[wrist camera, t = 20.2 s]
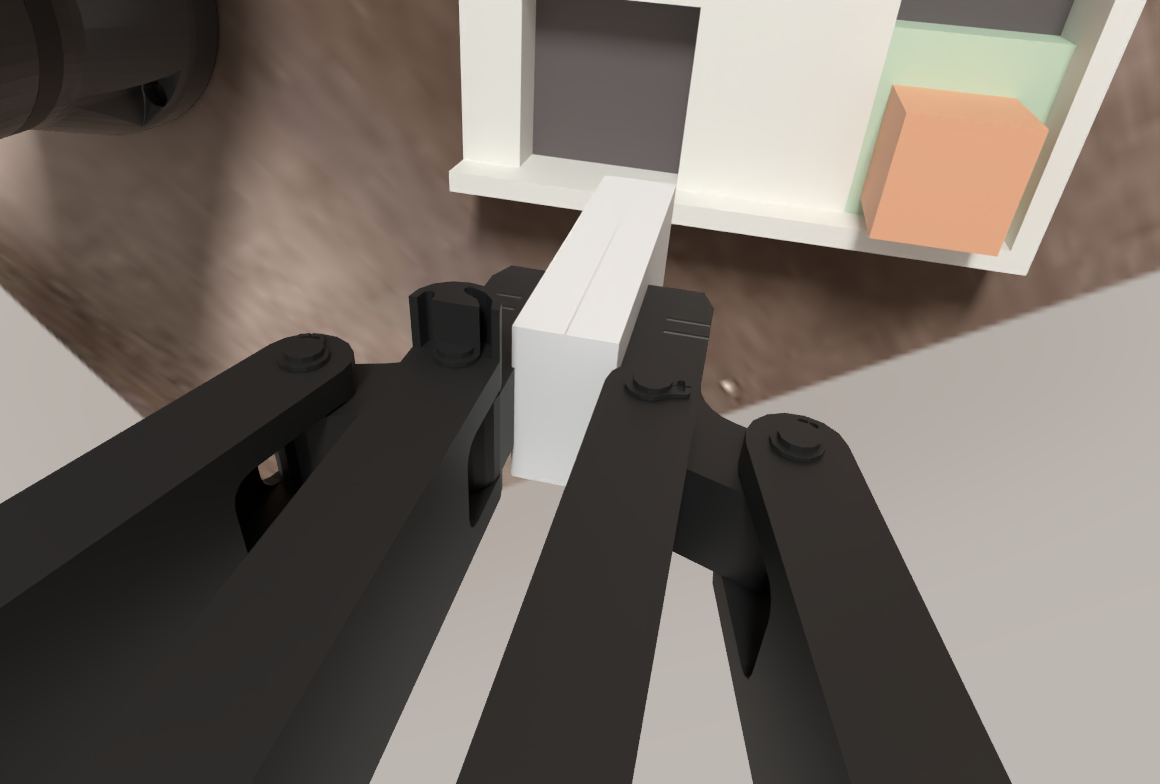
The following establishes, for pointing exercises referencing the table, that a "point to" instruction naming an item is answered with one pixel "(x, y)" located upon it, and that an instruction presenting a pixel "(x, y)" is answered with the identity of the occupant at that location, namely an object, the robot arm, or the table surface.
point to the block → (950, 169)
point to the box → (767, 102)
